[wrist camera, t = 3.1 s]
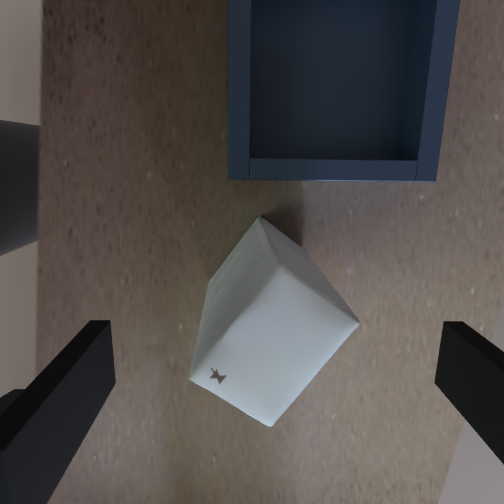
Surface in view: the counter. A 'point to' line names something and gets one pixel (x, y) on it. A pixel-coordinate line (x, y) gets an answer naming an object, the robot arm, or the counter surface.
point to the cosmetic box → (267, 324)
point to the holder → (338, 88)
